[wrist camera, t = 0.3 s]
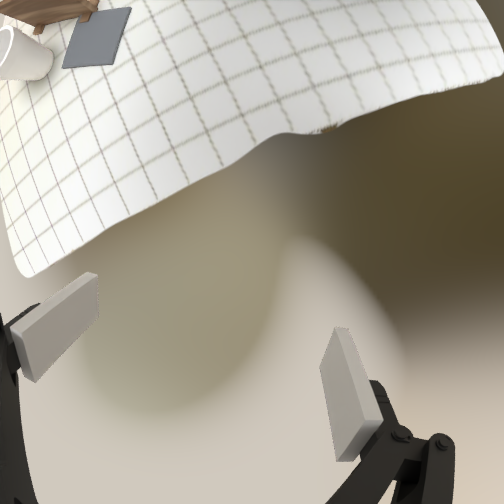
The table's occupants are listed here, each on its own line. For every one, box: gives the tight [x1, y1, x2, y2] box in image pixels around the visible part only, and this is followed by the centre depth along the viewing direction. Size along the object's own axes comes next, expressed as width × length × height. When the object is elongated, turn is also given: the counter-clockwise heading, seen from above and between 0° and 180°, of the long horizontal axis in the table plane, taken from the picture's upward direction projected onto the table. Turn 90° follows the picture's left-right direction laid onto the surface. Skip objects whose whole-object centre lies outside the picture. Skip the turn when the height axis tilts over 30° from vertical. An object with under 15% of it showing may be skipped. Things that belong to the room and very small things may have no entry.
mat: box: [62, 7, 132, 69], centre depth 34 cm, size 11×11×1 cm
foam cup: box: [0, 25, 54, 80], centre depth 29 cm, size 10×9×13 cm
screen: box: [0, 0, 99, 35], centre depth 26 cm, size 5×16×14 cm, turn 78°
